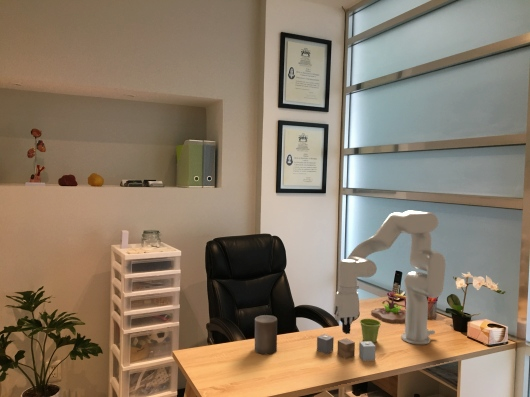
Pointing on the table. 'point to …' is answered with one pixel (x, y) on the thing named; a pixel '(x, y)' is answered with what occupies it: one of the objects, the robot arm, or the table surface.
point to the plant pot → (370, 329)
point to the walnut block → (346, 348)
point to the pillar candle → (266, 334)
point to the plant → (390, 313)
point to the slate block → (367, 350)
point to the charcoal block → (325, 343)
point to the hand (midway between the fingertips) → (346, 332)
